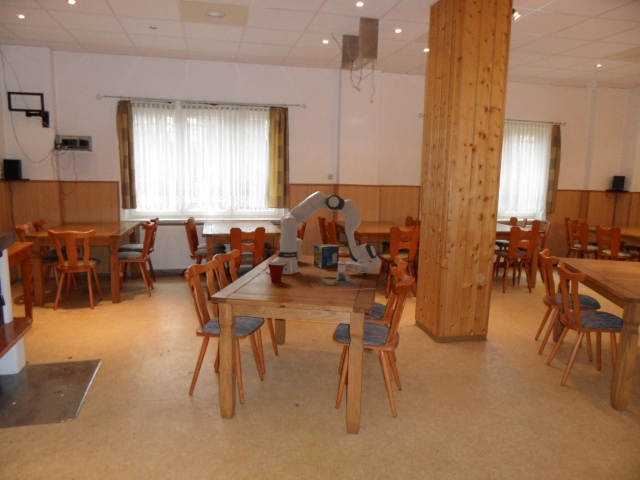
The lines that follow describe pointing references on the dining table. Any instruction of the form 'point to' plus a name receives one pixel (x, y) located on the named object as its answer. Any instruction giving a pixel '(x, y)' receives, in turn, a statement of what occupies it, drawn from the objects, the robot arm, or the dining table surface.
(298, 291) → the dining table surface
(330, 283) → the brass collar
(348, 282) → the rubber mat
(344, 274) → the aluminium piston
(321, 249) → the protein box
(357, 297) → the dining table surface
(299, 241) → the canister
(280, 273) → the plastic cup
